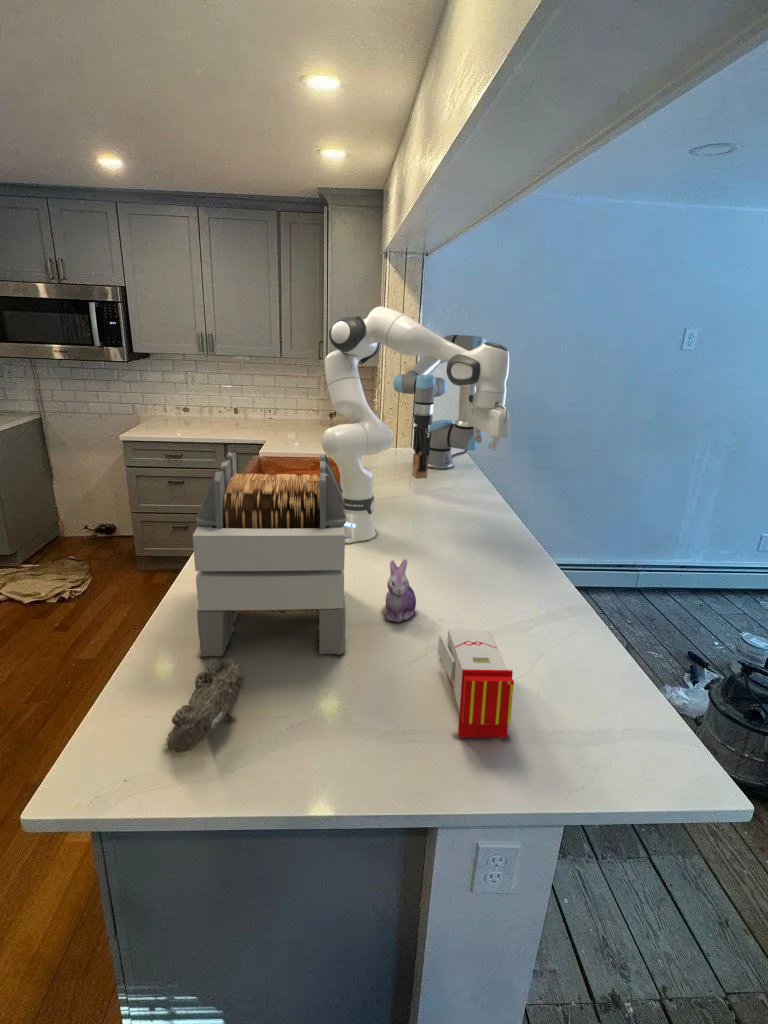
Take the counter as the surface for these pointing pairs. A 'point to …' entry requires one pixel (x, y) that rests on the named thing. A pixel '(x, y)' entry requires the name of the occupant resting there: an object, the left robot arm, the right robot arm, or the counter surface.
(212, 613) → the transformer
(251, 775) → the counter surface
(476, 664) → the toy
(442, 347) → the left robot arm
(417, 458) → the brown wooden block
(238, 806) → the counter surface
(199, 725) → the fossil
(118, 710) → the counter surface
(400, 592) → the figurine
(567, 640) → the counter surface
